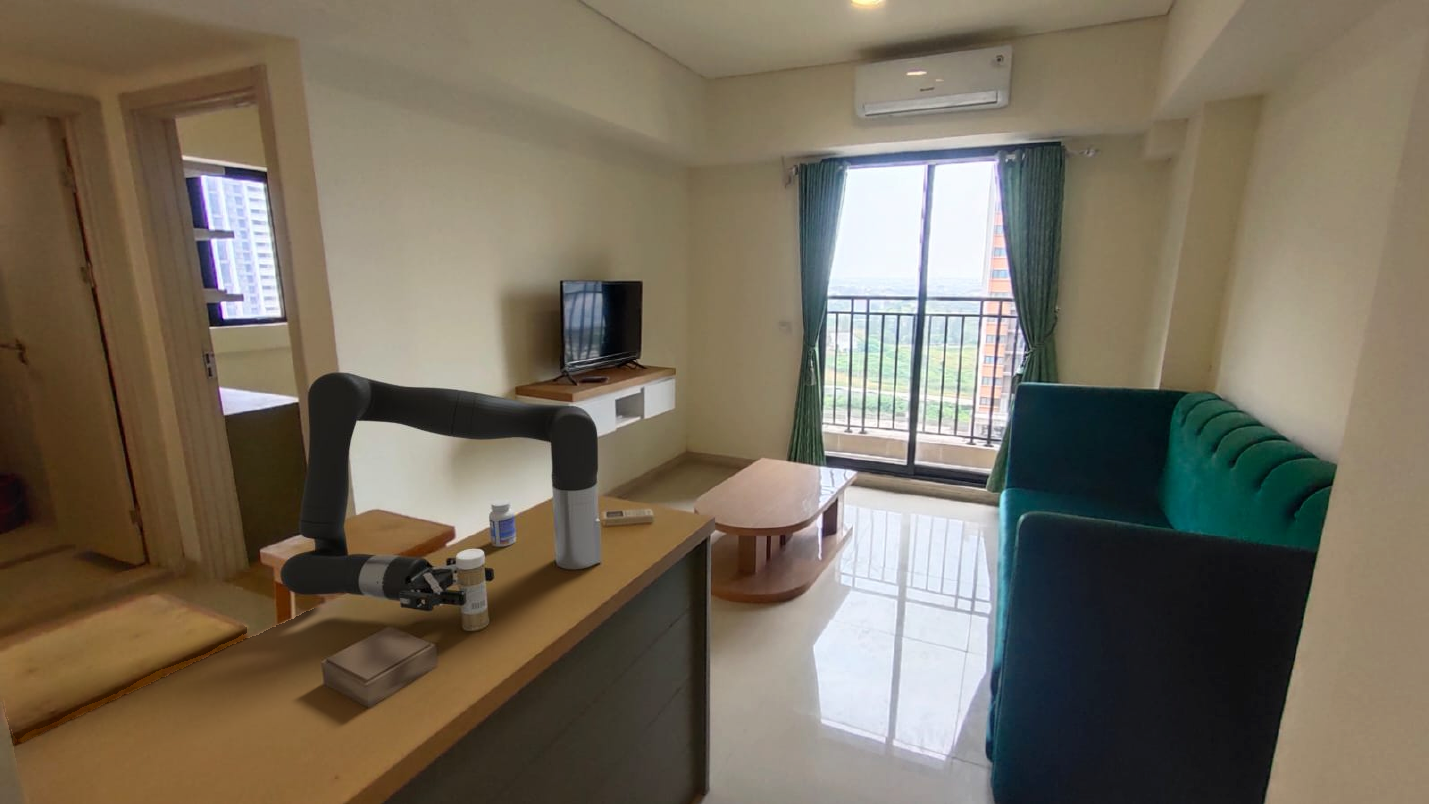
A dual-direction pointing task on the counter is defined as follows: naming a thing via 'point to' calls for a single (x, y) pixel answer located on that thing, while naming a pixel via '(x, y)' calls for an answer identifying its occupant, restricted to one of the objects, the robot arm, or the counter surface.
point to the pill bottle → (502, 524)
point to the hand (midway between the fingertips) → (479, 586)
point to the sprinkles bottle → (473, 589)
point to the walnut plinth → (379, 665)
